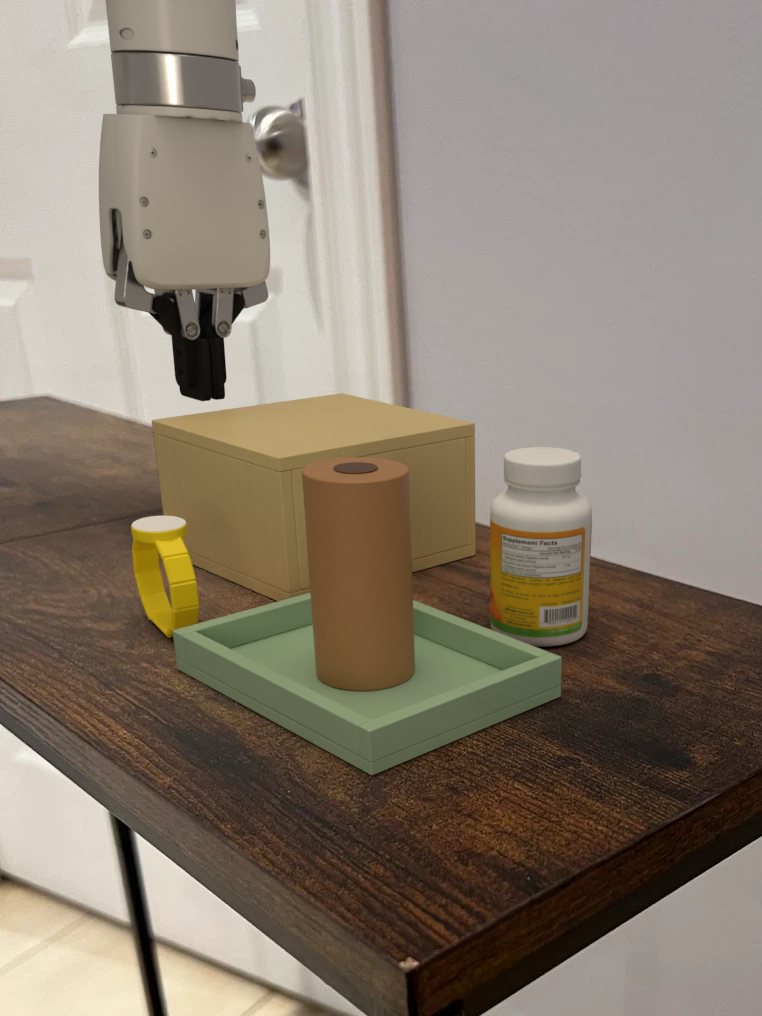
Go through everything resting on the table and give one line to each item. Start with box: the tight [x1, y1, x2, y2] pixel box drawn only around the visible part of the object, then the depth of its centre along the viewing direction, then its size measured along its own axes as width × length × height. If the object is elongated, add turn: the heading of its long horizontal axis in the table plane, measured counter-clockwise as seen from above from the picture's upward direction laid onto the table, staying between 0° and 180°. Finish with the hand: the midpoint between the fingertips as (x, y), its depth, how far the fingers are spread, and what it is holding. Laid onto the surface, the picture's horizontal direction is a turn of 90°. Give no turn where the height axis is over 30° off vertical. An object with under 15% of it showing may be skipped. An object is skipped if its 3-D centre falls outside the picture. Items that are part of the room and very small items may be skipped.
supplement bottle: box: [489, 446, 593, 648], centre depth 61 cm, size 5×5×10 cm
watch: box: [130, 515, 200, 639], centre depth 61 cm, size 6×3×6 cm, turn 36°
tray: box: [172, 593, 563, 776], centre depth 56 cm, size 16×12×2 cm
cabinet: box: [151, 392, 476, 602], centre depth 73 cm, size 14×15×9 cm
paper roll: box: [302, 457, 415, 691], centre depth 54 cm, size 5×5×10 cm
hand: (202, 396), depth 79 cm, fingers closed
